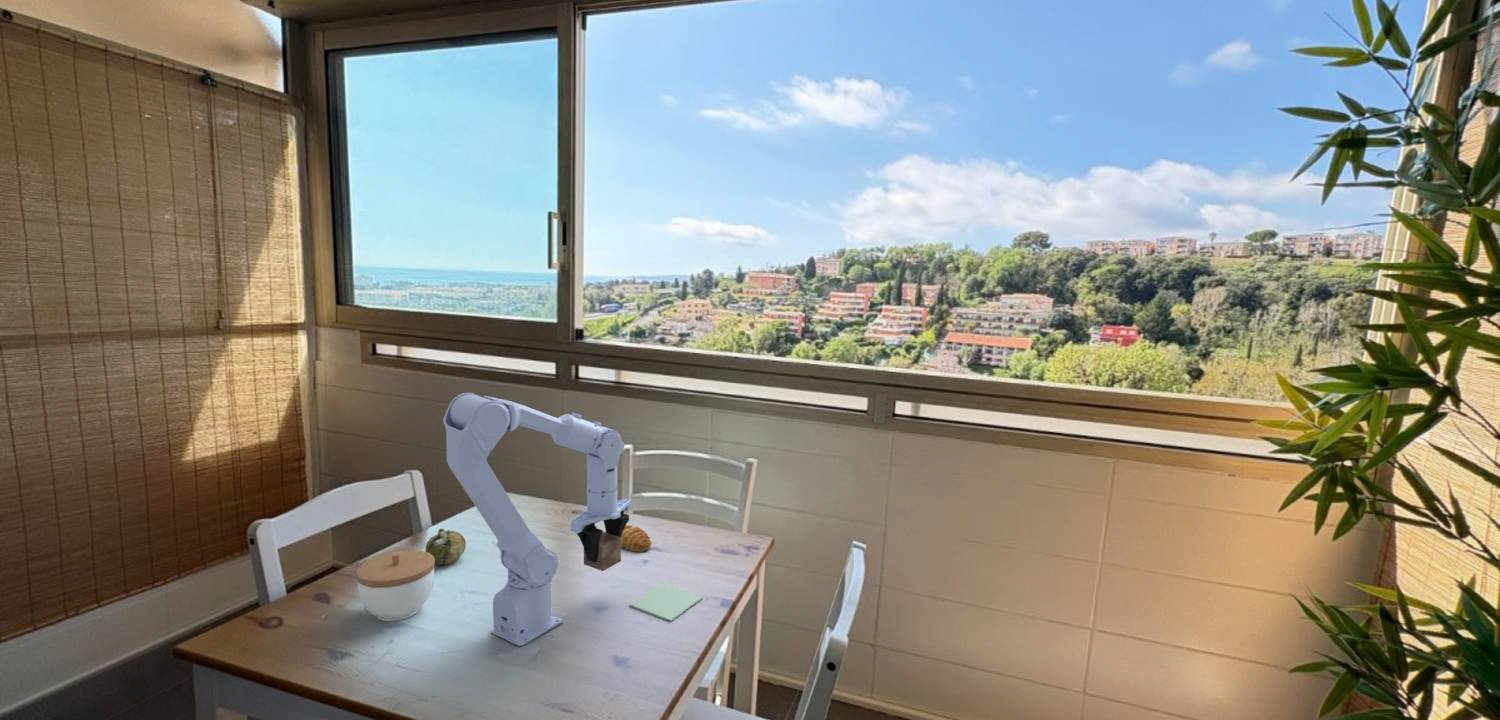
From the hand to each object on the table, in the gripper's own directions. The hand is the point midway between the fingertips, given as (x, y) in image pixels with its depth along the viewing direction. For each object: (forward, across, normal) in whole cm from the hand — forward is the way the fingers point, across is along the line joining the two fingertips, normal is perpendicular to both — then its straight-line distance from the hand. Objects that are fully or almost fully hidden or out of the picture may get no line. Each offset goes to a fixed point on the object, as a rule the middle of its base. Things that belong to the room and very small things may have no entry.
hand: (602, 555), depth 125 cm
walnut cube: (+2, 0, 0) cm, 2 cm away
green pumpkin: (+9, -8, +38) cm, 40 cm away
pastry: (+9, +22, +11) cm, 26 cm away
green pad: (+8, +5, -12) cm, 15 cm away
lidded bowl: (+9, -25, +27) cm, 38 cm away
